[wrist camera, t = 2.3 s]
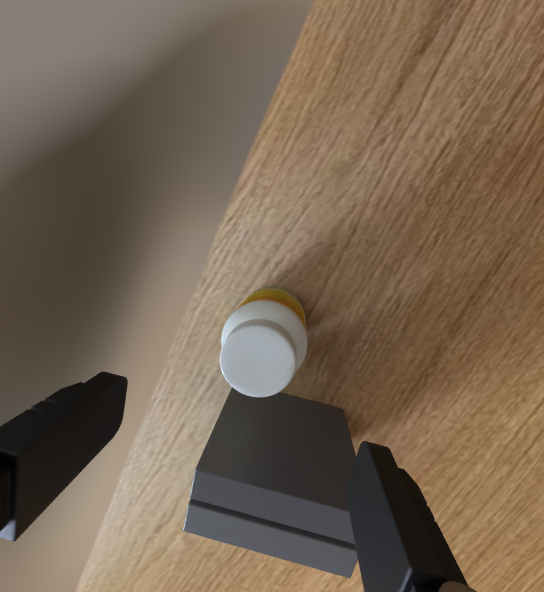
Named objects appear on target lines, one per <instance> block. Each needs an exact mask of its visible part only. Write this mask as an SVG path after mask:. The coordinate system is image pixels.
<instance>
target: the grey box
mask: <svg viewBox="0 0 544 592" xmlns="http://www.w3.org/2000/svg"><path fill="white" fill-rule="evenodd" d="M355 459H356V454H355V451H354V447H353V444H352V440H351V436H350V433H349V429H348V426H347V422H346V418H345V415H344V411H343V409H340V408H336V407H333V406H329V405H325V404H321V403H317V402H313V401H309V400H306V399H302V398H298V397H294V396H290V395H286V394H282V393H279V392H278V393H276V394H274V395H271V396H267V397H252V396H248V395H245V394H242V393H240V392H239V391H237V390H236V389H234V388H233V387H232V388H231V391H230V393H229V395H228V397H227V400H226V402H225V404H224V406H223V409H222V411H221V413H220V415H219V418H218V420H217V422H216V424H215V427H214V429H213V431H212V433H211V435H210V438H209V440H208V442H207V444H206V447H205V449H204V451H203V453H202V456H201V458H200V460H199V462H198V465H197V467H196V469H195V474H194V479H193V483H192V488H191V493H190V498H191V499H190V501H189V504H188V508H187V513H186V518H185V523H184V528H183V531H185V532H189V533H192V534H196V535H199V536H203V537H206V538H210V539H213V540H217V541H220V542H224V543H227V544H231V545H234V546H238V547H241V548H245V549H248V550H252V551H255V552H259V553H263V554H266V555H270V556H273V557H277V558H280V559H284V560H287V561H291V562H294V563H298V564H301V565H305V566H308V567H312V568H315V569H319V570H322V571H326V572H329V573H333V574H336V575H340V576H343V577H347V578H351V575H352V572H353V570H354V567H355V565H356V562H357V559H358V556H357V551H356V546H355V541H354V535H353V530H352V525H351V520H350V515H349V510H348V505H347V484H348V480H349V477H350V474H351V471H352V468H353V465H354V462H355Z"/></svg>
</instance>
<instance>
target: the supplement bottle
mask: <svg viewBox="0 0 544 592" xmlns="http://www.w3.org/2000/svg"><path fill="white" fill-rule="evenodd" d="M221 344H222V349H221V353H220V366H221V370H222V373H223V375H224V377H225V379H226V380H227V382H228V383H229V384H230V385H231V386H232V387H233V388H234V389H236V390H237V391H239V392H240V393H242V394H245V395H248V396H252V397H267V396H271V395H274V394H276V393H278V392H280V391H281V390H283V389H284V388H285V387H286V386H287V385H288V384H289V383H290V381H291V380H292V378H293V376H294V374H295V373H296V372H297V371H298V369H299V368H300V367H301V365H302V363H303V362H304V359H305V357H306V353H307V346H308V341H307V332H306V322H305V313H304V309H303V306H302V304H301V302H300V301H299V299H298V298H297V297H296V296H295V295H294V294H293V293H291V292H290V291H288V290H287V289H284V288H282V287H278V286H267V287H262V288H260V289H258V290H256V291H255V292H253V293H252V294H251V295H250V296H249V297H248V298H247V299H246V300H245V301H244V302H243V303H242V304H241V305H240V306H239V307H238V308H237V309H236V310H235V311H234V312H233V313H232V314H231V315H230V317H229V318H228V320H227V322H226V324H225V326H224V329H223V332H222V338H221Z"/></svg>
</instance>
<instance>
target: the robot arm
mask: <svg viewBox="0 0 544 592" xmlns="http://www.w3.org/2000/svg"><path fill="white" fill-rule="evenodd" d="M127 382H128V381H127V378H126V377H123V376H119V375H115V374H111V373H107V372H101V373H99V374H97V375H96V376H94V377H93V378H91V379H90V380H88V381H87V382H85V383H81V382H80V383H77V384H74V385H71V386H68V387H65V388H62V389H60V390H59V391H57V392H55V393H54V394H52V395H50V396H49V397H47V398H46V399H45V400H44V401H41V402H39V403H37V404H36V405H34V406H33V407H31V409H30V410H27V411H24V412H23V413H21V414H20V415H18V416H16V417H15V418H13V419H12V420H10V421H8V422H7V423H5V424H3V425H2V426H0V537H1V538H4V539H8V540H11V541H16V540H17V539H18V538H19V537H20V535H21V534H22V533H23V532H24V531H25V530H26V529H27V528H28V527H29V526H30V525H31V524H32V523H33V522H34V521H35V520H36V518H37V517H38V516H39V515H40V514H41V513H42V512H43V511H44V510H45V509H46V508H47V507H48V506H49V504H51V503H52V502H53V501H54V500H55V498H56V497H57V496H58V495H59V494H60V493H61V492H62V491H63V490H64V489H65V488H66V487H67V486H68V485H69V484H70V483H71V482H72V481H73V479H74V478H75V477H76V476H77V475H78V474H79V473H80V472H81V471H82V470H83V469H84V468H85V467H86V466H87V465H88V464H89V463H90V461H91V460H92V459H93V458H94V457H95V456H96V455H97V454H98V453H99V452H100V451H101V450H102V449H103V448H104V447H105V446H106V445H107V444H108V442H109V441H110V440H111V439H112V438H113V437H114V436H115V434H116V433H117V431H118V429H119V427H120V425H121V423H122V419H123V413H124V406H125V399H126V392H127V384H128V383H127ZM347 505H348V510H349V515H350V520H351V525H352V530H353V535H354V541H355V546H356V551H357V556H358V561H359V566H360V571H361V577H362V582H363V587H364V592H477V591H475V590H474V589H472V588H470V587H469V586H468V584H467V582H466V580H465V578H464V576H463V574H462V572H461V570H460V568H459V566H458V564H457V562H456V560H455V558H454V556H453V554H452V552H451V550H450V548H449V546H448V544H447V542H446V540H445V538H444V536H443V534H442V532H441V530H440V528H439V526H438V524H437V522H435V521H434V516H433V514H432V512H431V510H430V508H429V507H428V506H427V502H426V500H425V498H424V496H423V494H422V492H421V490H420V488H419V486H418V485H417V484H416V483H415V481H414V480H413V479H412V478H411V477H410V476H409V474H408V473H407V472H406V471H405V470H404V469H401V468H398V466H397V464H396V462H395V460H394V458H393V455H392V453H391V451H390V449H389V448H388V447H385V446H382V445H378V444H374V443H370V442H367V441H363V442H362V443H361V445H360V447H359V450H358V453H357V456H356V459H355V462H354V465H353V468H352V471H351V474H350V477H349V480H348V484H347Z"/></svg>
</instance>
